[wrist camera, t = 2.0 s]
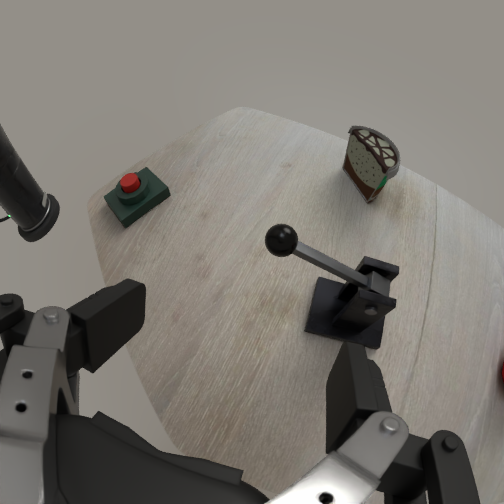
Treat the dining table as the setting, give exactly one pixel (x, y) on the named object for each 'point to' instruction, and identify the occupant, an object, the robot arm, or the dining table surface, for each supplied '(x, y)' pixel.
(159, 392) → the dining table surface
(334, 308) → the black bracket
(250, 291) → the dining table surface
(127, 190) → the button
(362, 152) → the cake slice
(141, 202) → the control block
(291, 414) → the dining table surface
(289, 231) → the lever
